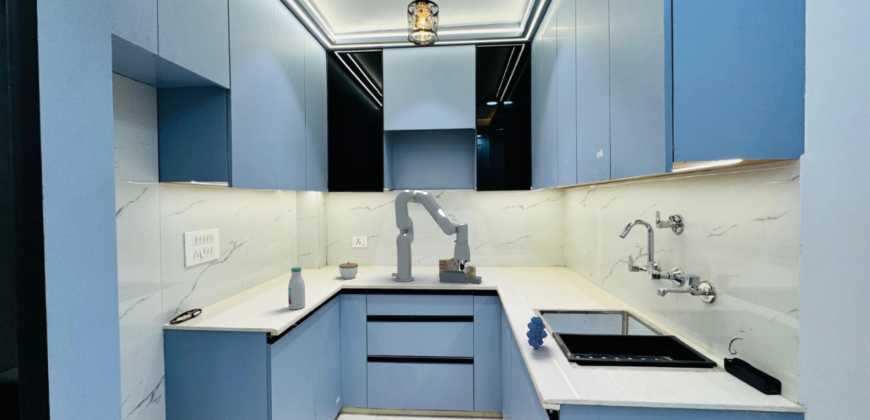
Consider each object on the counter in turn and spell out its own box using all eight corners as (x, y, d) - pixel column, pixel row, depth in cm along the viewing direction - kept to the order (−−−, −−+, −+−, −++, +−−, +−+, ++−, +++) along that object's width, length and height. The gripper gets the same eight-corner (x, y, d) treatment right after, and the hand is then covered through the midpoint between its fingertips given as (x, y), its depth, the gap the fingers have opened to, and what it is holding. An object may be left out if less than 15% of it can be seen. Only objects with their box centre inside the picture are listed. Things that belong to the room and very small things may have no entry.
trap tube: (439, 281, 229) (439, 272, 229) (442, 278, 238) (442, 269, 237) (479, 284, 222) (479, 274, 222) (481, 281, 231) (481, 271, 230)
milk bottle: (307, 305, 180) (306, 266, 179) (301, 310, 172) (301, 269, 171) (292, 305, 180) (291, 266, 179) (285, 310, 172) (285, 269, 171)
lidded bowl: (360, 275, 248) (359, 260, 247) (355, 280, 235) (355, 263, 235) (342, 275, 248) (342, 260, 247) (336, 279, 235) (336, 263, 235)
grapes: (539, 357, 120) (540, 322, 120) (521, 351, 125) (522, 318, 124) (554, 346, 129) (554, 314, 128) (537, 341, 133) (537, 310, 133)
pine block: (466, 278, 226) (466, 267, 226) (468, 276, 231) (468, 265, 231) (474, 278, 225) (474, 267, 225) (475, 276, 230) (475, 266, 229)
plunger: (452, 276, 228) (452, 267, 228) (454, 274, 234) (454, 265, 234) (466, 277, 226) (466, 268, 226) (468, 275, 232) (468, 266, 231)
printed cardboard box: (451, 271, 263) (451, 254, 262) (459, 272, 260) (459, 255, 260) (438, 276, 244) (438, 259, 243) (447, 277, 241) (447, 259, 241)
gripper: (449, 242, 227) (449, 271, 228) (472, 243, 223) (472, 272, 224) (452, 241, 234) (452, 268, 235) (474, 241, 230) (474, 269, 231)
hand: (462, 270), depth 229 cm, fingers closed
